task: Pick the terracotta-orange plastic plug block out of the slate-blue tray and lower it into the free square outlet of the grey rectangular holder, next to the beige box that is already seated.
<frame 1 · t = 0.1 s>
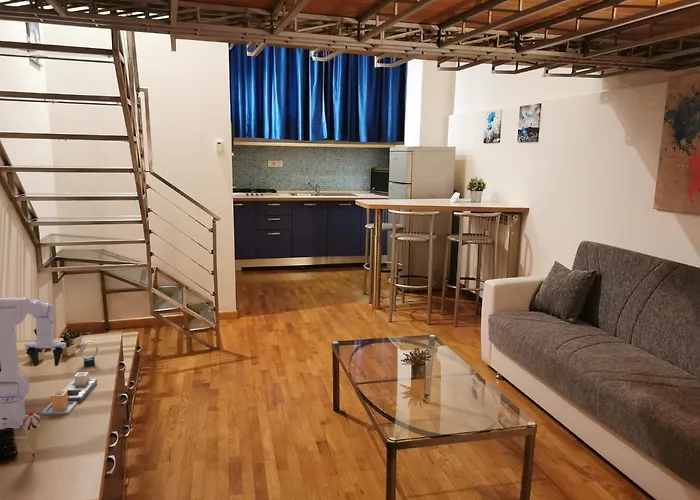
hand: (46, 365, 208), 10 cm above the tv stand, fingers open, 7 cm apart
grey rectangular holder: (77, 393, 207), on the tv stand
watch: (89, 365, 237), on the tv stand
tray: (60, 409, 193), on the tv stand
plug: (60, 408, 193), resting on tray
beige box: (82, 388, 212), resting in grey rectangular holder
ice cream cone: (34, 458, 162), on the tv stand
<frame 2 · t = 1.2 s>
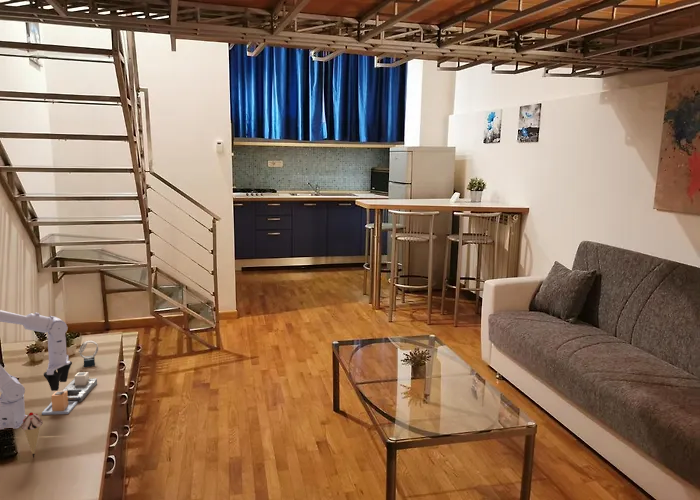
hand: (59, 385, 192), 9 cm above the tv stand, fingers open, 7 cm apart
nothing on the tv stand moved.
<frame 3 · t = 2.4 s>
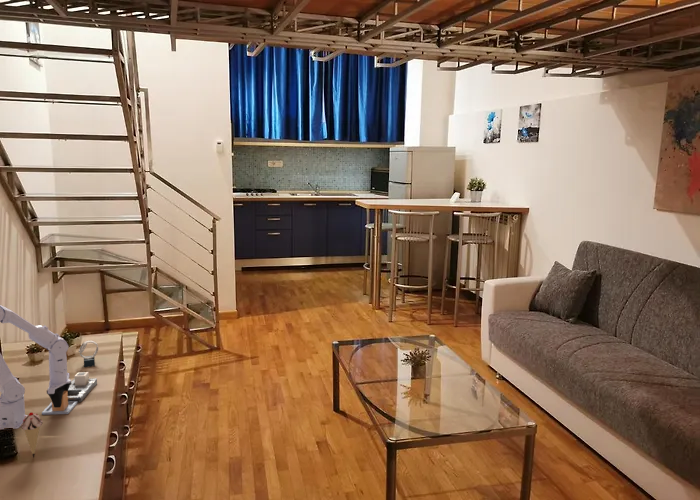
hand: (60, 404, 193), 2 cm above the tv stand, fingers closed on plug, 4 cm apart
plug: (60, 408, 193), resting on tray, touching gripper
everything else where it was.
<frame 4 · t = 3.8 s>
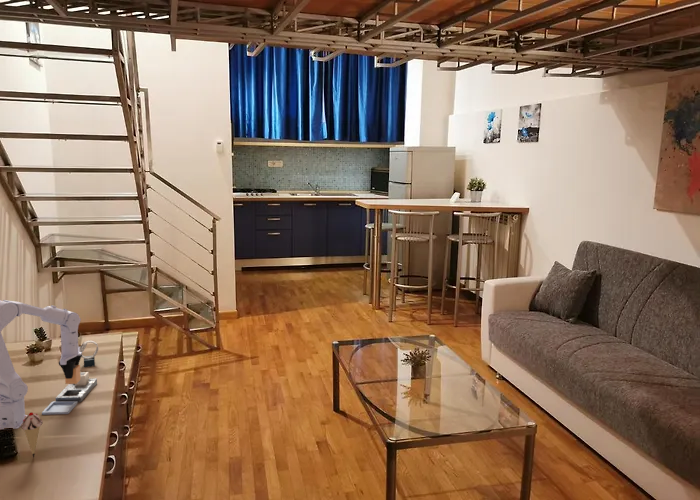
hand: (71, 375, 201), 9 cm above the tv stand, fingers closed on plug, 4 cm apart
plug: (73, 381, 201), point 7 cm above the tv stand, touching gripper
everything else where it was.
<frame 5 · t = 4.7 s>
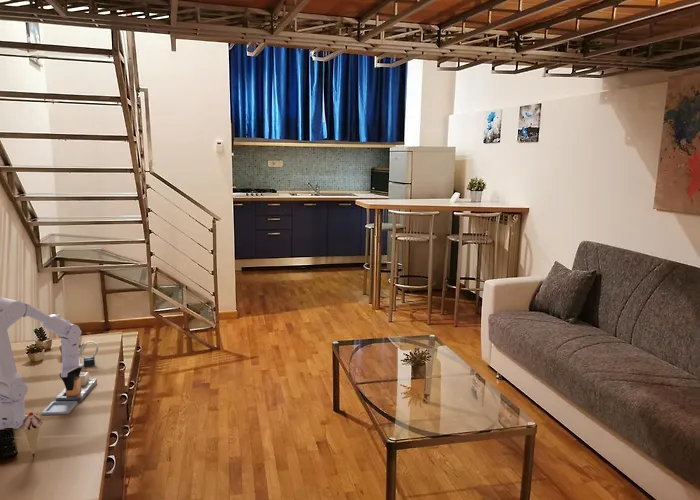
hand: (72, 387, 202), 5 cm above the tv stand, fingers closed on plug, 4 cm apart
plug: (73, 393, 202), point 2 cm above the tv stand, touching gripper
everything else where it was.
when the fingers open (3 cm above the tv stand, at t = 5.5 s): plug stays where it is, resting in grey rectangular holder.
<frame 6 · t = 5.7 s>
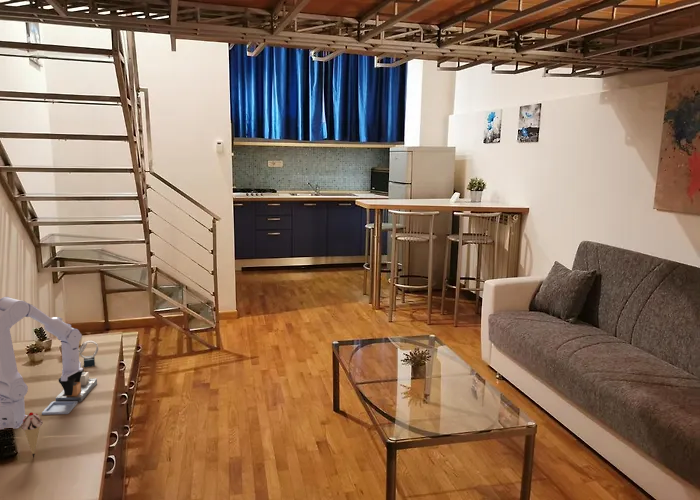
hand: (72, 391, 202), 3 cm above the tv stand, fingers open, 6 cm apart
plug: (73, 399, 202), resting in grey rectangular holder
everything else where it was.
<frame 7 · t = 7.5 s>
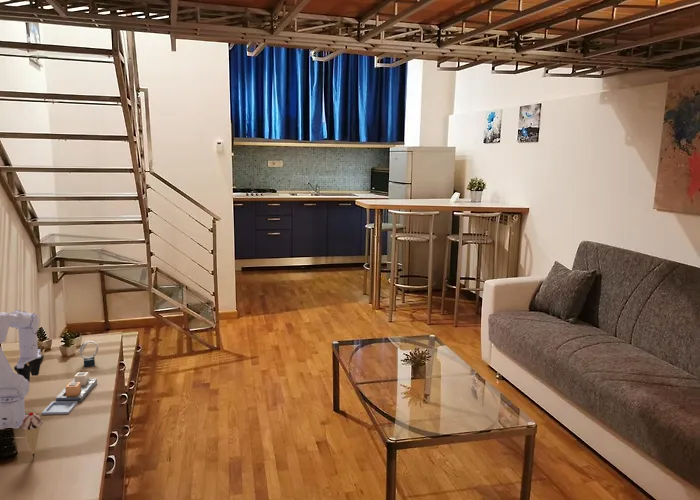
hand: (30, 379, 195), 10 cm above the tv stand, fingers open, 7 cm apart
nothing on the tv stand moved.
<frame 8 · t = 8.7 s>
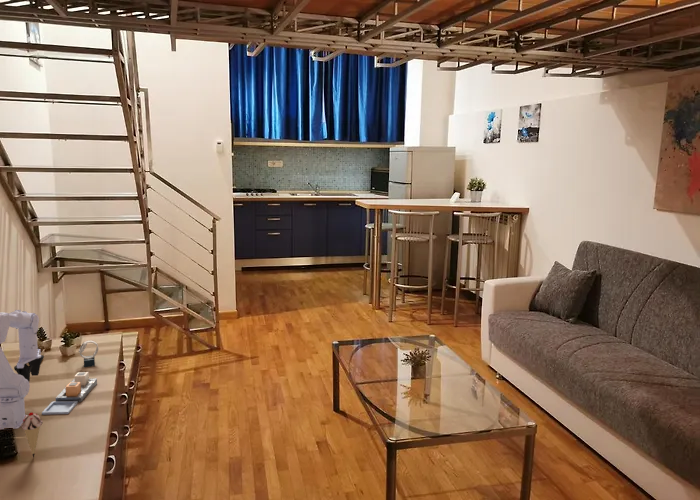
hand: (30, 379, 195), 10 cm above the tv stand, fingers open, 7 cm apart
nothing on the tv stand moved.
at the end: plug 0.5 cm from the target spot on the grey rectangular holder, point 0.0 cm above the grey rectangular holder's base; plug tilted 0°; the gripper is holding nothing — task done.
